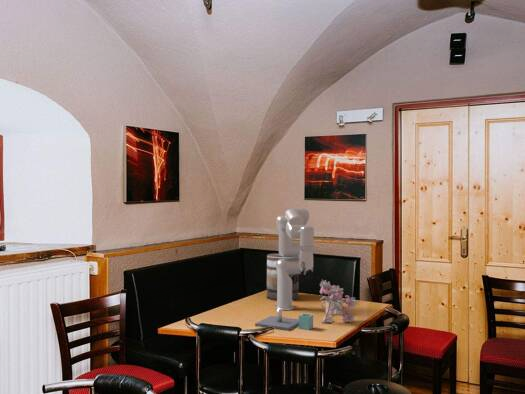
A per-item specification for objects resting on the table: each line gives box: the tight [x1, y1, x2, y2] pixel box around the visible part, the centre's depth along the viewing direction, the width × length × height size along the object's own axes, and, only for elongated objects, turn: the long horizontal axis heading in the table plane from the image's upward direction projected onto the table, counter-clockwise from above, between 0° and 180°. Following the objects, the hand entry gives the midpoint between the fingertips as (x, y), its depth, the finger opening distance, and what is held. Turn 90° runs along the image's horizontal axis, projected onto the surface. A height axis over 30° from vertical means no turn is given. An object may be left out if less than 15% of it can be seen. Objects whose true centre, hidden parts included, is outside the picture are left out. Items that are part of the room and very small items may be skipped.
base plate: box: [254, 315, 299, 332], centre depth 284 cm, size 20×20×2 cm
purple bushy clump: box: [320, 295, 338, 316], centre depth 313 cm, size 12×9×12 cm
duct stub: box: [276, 309, 283, 322], centre depth 284 cm, size 3×3×7 cm
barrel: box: [266, 252, 300, 302], centre depth 358 cm, size 22×22×30 cm
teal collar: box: [298, 313, 314, 331], centre depth 277 cm, size 6×6×7 cm
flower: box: [319, 279, 357, 324], centre depth 290 cm, size 20×22×25 cm
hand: (306, 280), depth 277 cm, fingers open, 9 cm apart
